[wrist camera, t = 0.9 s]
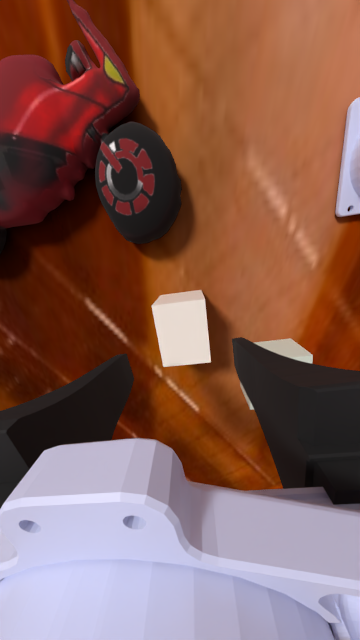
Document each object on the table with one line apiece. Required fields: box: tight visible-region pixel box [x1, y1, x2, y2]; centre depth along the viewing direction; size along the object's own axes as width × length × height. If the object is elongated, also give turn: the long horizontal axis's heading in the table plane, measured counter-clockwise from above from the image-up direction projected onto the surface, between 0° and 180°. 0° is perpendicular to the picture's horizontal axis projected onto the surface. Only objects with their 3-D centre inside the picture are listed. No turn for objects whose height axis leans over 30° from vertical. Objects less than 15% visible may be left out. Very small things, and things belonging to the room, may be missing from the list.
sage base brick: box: [240, 339, 313, 410], centre depth 20 cm, size 6×6×4 cm
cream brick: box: [152, 290, 211, 367], centre depth 18 cm, size 4×6×5 cm
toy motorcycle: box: [0, 0, 182, 253], centre depth 14 cm, size 25×5×16 cm
